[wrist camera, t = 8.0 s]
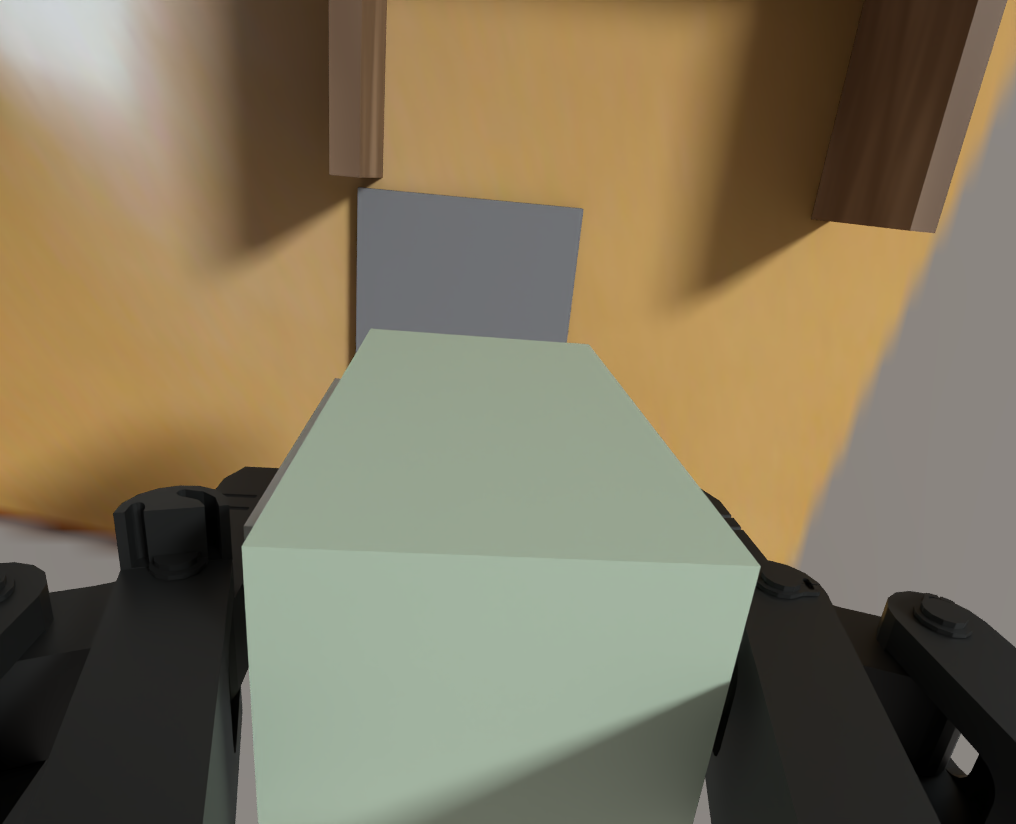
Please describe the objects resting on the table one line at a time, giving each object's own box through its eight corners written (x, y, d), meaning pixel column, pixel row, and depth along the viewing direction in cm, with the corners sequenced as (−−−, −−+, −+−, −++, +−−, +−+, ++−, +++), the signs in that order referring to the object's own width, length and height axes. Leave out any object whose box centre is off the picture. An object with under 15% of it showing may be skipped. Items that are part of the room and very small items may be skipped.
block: (367, 523, 16) (263, 910, 8) (370, 328, 14) (241, 545, 6) (562, 531, 16) (671, 904, 8) (588, 344, 15) (760, 566, 6)
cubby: (359, 175, 28) (329, 174, 21) (363, -199, 23) (327, -344, 17) (831, 220, 30) (934, 233, 24) (916, -113, 26) (1072, -212, 19)
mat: (356, 400, 31) (355, 403, 31) (359, 187, 28) (357, 187, 28) (555, 412, 32) (557, 416, 32) (581, 208, 29) (583, 208, 29)
